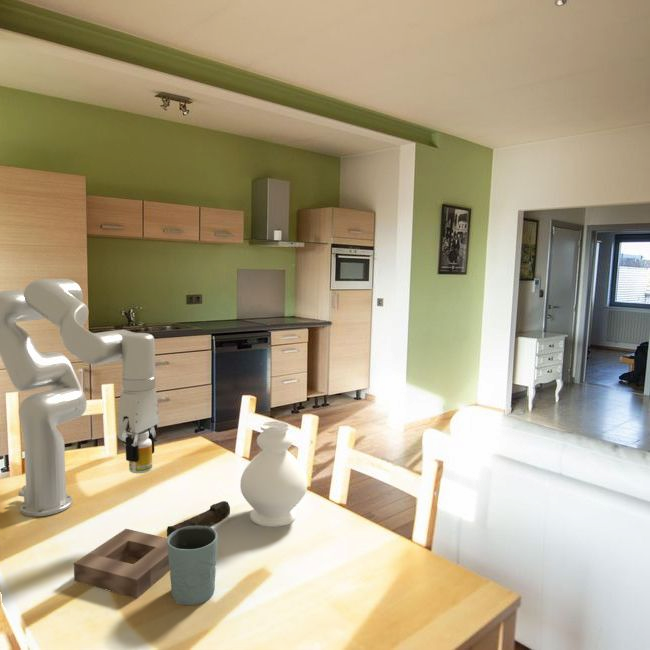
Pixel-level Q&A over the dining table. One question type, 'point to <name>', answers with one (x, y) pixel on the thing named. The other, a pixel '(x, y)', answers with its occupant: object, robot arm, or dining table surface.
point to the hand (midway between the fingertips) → (140, 456)
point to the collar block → (120, 576)
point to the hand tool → (204, 517)
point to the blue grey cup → (192, 564)
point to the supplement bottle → (142, 454)
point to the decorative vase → (274, 478)
